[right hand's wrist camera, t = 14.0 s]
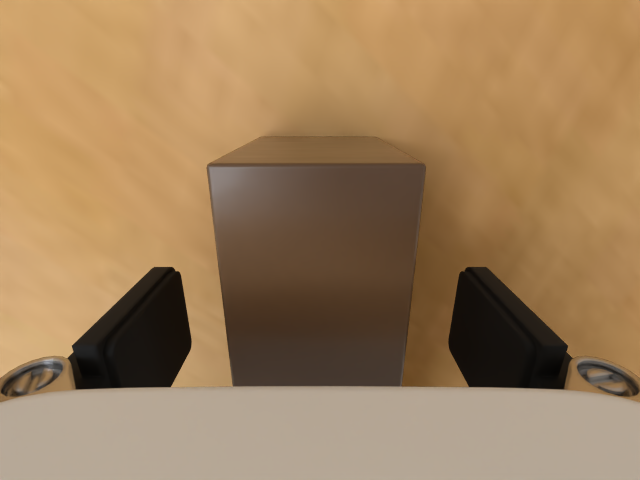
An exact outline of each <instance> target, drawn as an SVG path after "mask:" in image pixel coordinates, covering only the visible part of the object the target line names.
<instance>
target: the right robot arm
mask: <svg viewBox="0 0 640 480" xmlns="http://www.w3.org/2000/svg"><path fill="white" fill-rule="evenodd" d="M191 342H192V341H191V334H190V328H189V322H188V316H187V310H186V303H185V297H184V291H183V285H182V279H181V274H180V272H178V271H175V269H174V268H173V267H154V268H152V269H151V270H150V271H149V272H148V273H147V274H146V275H145V276H144V277H143V278H142V279H141V280H140V281H139V282H138V283H137V284H136V285H135V286H134V287H132V288H131V289H130V290H129V291H128V292H127V293H126V294H125V295H124V296H123V297H122V298H121V299H120V300H119V301H118V302H117V303H116V304H115V305H114V306H113V307H112V308H111V309H110V310H109V311H108V312H107V313H106V314H104V315H103V316H102V317H101V318H100V319H99V320H98V321H97V322H96V323H95V324H94V325H93V326H92V327H91V328H90V329H89V330H88V331H87V332H86V333H85V334H84V335H83V336H82V337H81V338H80V339H79V340H78V341H77V342H75V343H74V344H73V345H72V348H73V351H74V352H73V353H72V354H71V355H70V356H69V357H68V358H64V357H61V356H50V357H43V358H39V359H35V360H32V361H30V362H27V363H25V364H22V365H20V366H18V367H16V368H15V369H13V370H11V371H9V372H8V373H7V374H5V375H4V376H3V377H1V378H0V480H640V378H639V377H637V376H636V375H635V374H633V373H632V372H631V371H629V370H627V369H625V368H624V367H622V366H620V365H618V364H615V363H613V362H610V361H608V360H605V359H601V358H597V357H590V356H579V357H576V358H572V357H571V356H570V355H569V354H568V353H567V352H566V351H567V348H568V345H567V344H566V343H565V342H564V341H562V340H561V339H560V338H559V337H558V336H557V335H556V334H555V333H554V332H553V331H552V330H551V329H550V328H549V327H548V326H547V325H546V324H545V323H544V322H543V321H542V320H541V319H540V318H539V317H538V316H537V315H536V314H534V313H533V312H532V311H531V310H530V309H529V308H528V307H527V306H526V305H525V304H524V303H523V302H522V301H521V300H520V299H519V298H518V297H517V296H516V295H515V294H514V293H513V292H512V291H511V290H510V289H509V288H508V287H506V286H505V285H504V284H503V283H502V282H501V281H500V280H499V279H498V278H497V277H496V276H495V275H494V274H493V273H492V272H491V271H490V270H489V269H488V268H486V267H467V268H466V269H465V271H462V272H460V274H459V279H458V285H457V291H456V297H455V304H454V310H453V316H452V322H451V328H450V334H449V341H448V342H449V349H450V352H451V354H452V355H453V357H454V359H455V361H456V363H457V365H458V367H459V369H460V371H461V372H462V374H463V376H464V378H465V380H466V382H467V384H468V386H469V387H386V386H242V387H171V386H172V384H173V382H174V380H175V378H176V376H177V374H178V372H179V371H180V369H181V367H182V365H183V363H184V361H185V359H186V357H187V356H188V354H189V352H190V349H191Z"/></svg>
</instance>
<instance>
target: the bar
mask: <svg viewBox="0 0 640 480" xmlns="http://www.w3.org/2000/svg"><path fill="white" fill-rule="evenodd" d="M425 172H426V166H425V164H424V163H422V162H420V161H418V160H417V159H415V158H413V157H411V156H409V155H408V154H406V153H404V152H402V151H400V150H399V149H397V148H395V147H393V146H391V145H389V144H388V143H386V142H384V141H382V140H380V139H379V138H377V137H259V138H257V139H255V140H254V141H252V142H250V143H248V144H246V145H244V146H242V147H240V148H238V149H236V150H234V151H232V152H230V153H228V154H226V155H225V156H223V157H221V158H219V159H217V160H215V161H213V162H211V163H209V164H208V165H207V174H208V183H209V191H210V200H211V208H212V216H213V225H214V233H215V241H216V250H217V258H218V267H219V275H220V283H221V292H222V300H223V308H224V317H225V325H226V334H227V342H228V350H229V359H230V367H231V376H232V384H233V387H242V386H386V387H402V380H403V370H404V361H405V352H406V343H407V334H408V325H409V316H410V307H411V298H412V289H413V280H414V271H415V262H416V253H417V244H418V235H419V226H420V217H421V208H422V199H423V190H424V181H425Z"/></svg>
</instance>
